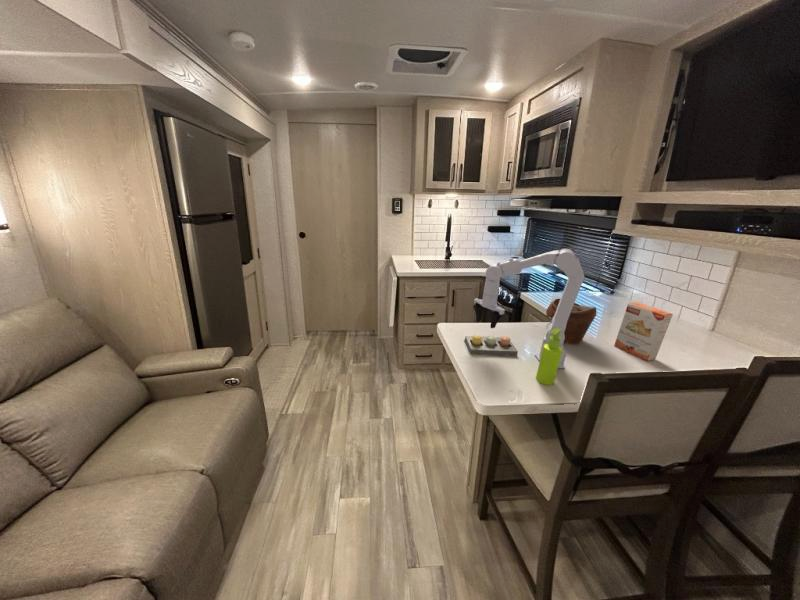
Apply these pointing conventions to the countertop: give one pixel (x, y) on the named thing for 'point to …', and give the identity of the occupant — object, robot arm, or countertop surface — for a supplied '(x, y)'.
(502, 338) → the button
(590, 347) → the countertop surface
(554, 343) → the soap dispenser
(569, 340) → the brown basket
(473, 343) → the button
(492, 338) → the button mid
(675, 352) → the countertop surface
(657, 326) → the cracker box
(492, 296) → the robot arm
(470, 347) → the panel
